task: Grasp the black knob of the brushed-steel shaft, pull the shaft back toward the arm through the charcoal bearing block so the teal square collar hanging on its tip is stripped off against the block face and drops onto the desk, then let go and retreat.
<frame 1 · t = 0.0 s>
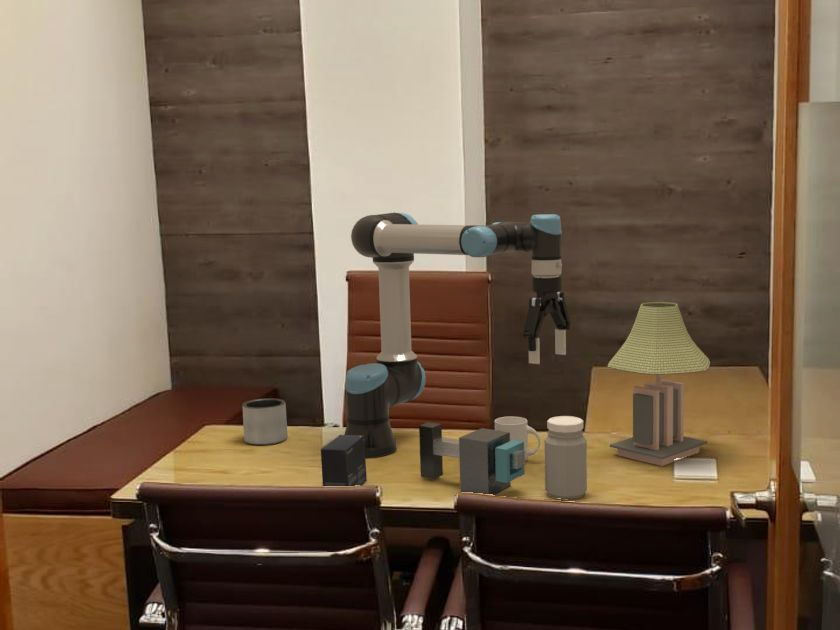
hand: (547, 358, 261), 28 cm above the table, fingers open, 13 cm apart
mug: (517, 461, 271), on the table
collar: (510, 461, 242), point 8 cm above the table, touching shaft
desk lamp: (658, 454, 273), on the table
jar: (565, 495, 242), on the table
shaft: (471, 457, 248), point 7 cm above the table, slide at 0.0 cm, touching collar
small box: (345, 489, 251), on the table
bearing block: (485, 489, 247), on the table
planter: (266, 441, 298), on the table
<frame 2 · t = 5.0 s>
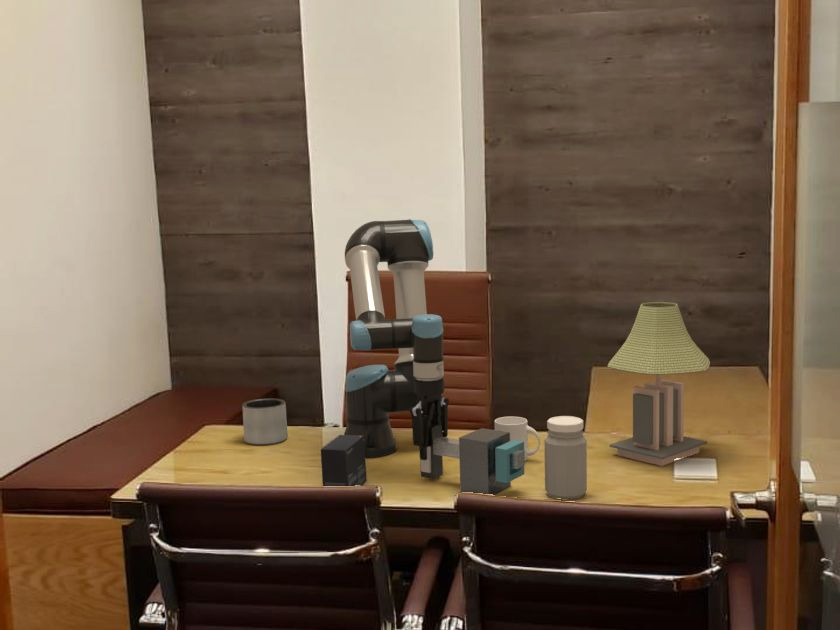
hand: (431, 469, 256), 3 cm above the table, fingers closed on shaft, 4 cm apart
shaft: (471, 457, 248), point 7 cm above the table, slide at 0.0 cm, touching collar, gripper
everything else where it was.
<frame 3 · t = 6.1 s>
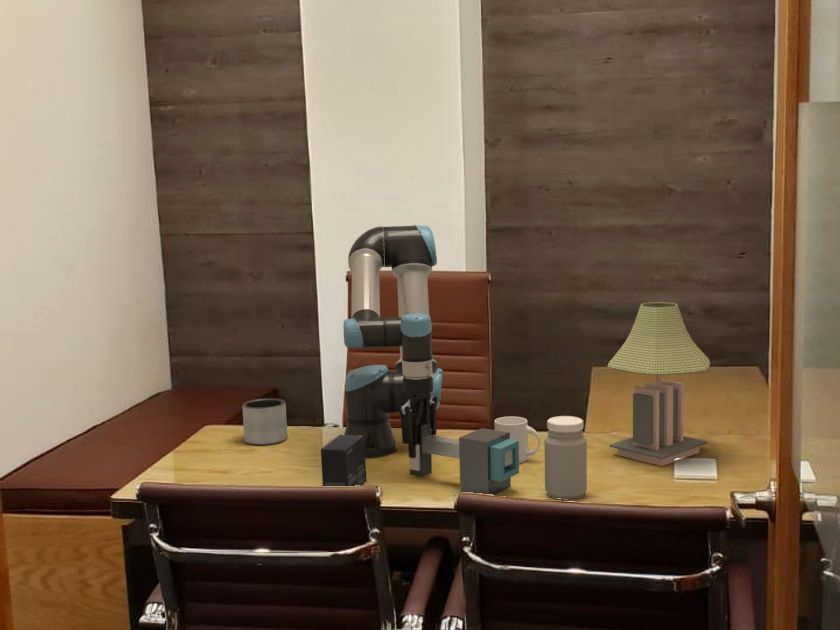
hand: (420, 466, 258), 3 cm above the table, fingers closed on shaft, 4 cm apart
collar: (504, 460, 243), point 8 cm above the table, touching bearing block
shaft: (459, 455, 250), point 7 cm above the table, slide at 3.4 cm, touching gripper
everything else where it was.
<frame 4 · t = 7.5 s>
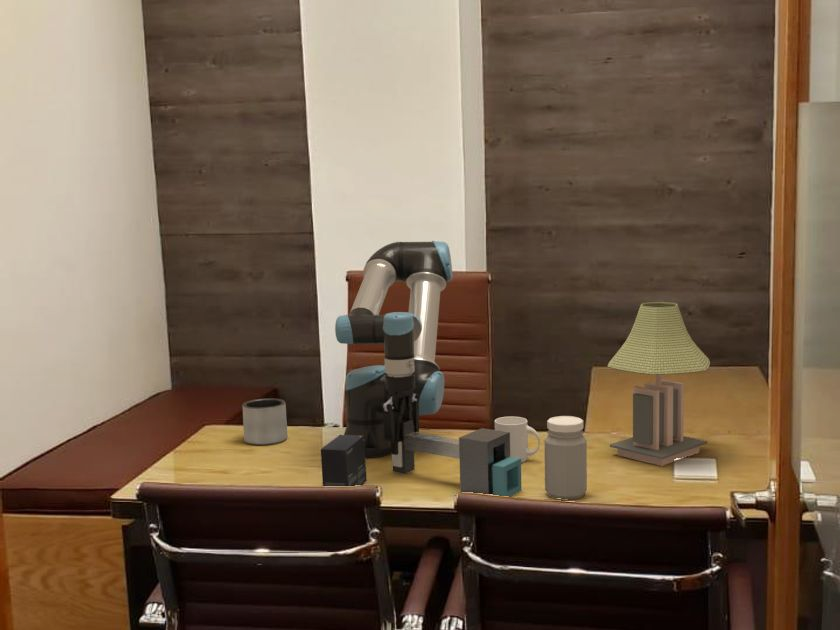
hand: (403, 463, 262), 3 cm above the table, fingers closed on shaft, 4 cm apart
collar: (507, 478, 243), point 4 cm above the table
shaft: (441, 452, 254), point 7 cm above the table, slide at 8.9 cm, touching gripper
everything else where it was.
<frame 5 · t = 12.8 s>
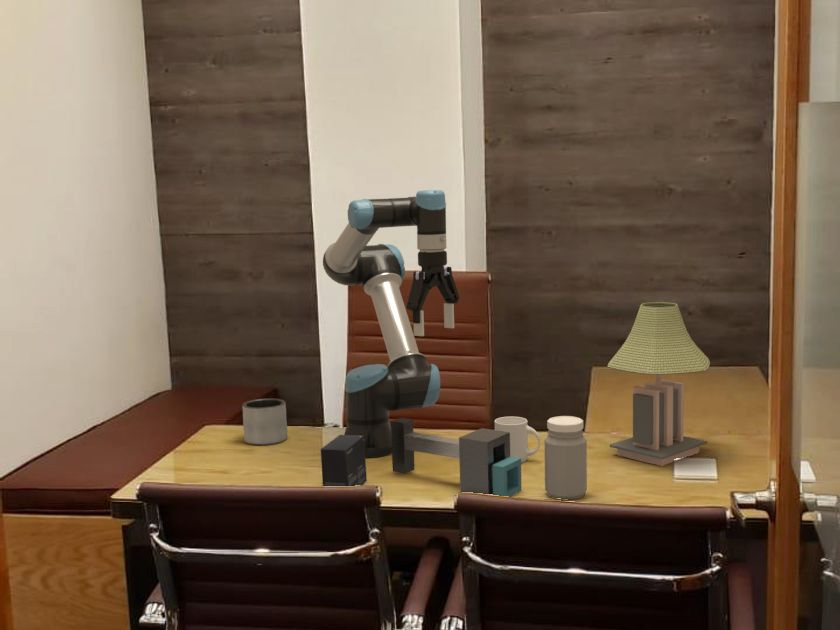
hand: (434, 331, 267), 35 cm above the table, fingers open, 13 cm apart
shaft: (441, 452, 254), point 7 cm above the table, slide at 8.9 cm
everything else where it was.
at the end: shaft slide at 8.9 cm; collar inside the target area (3.4 cm from its centre), point 3.9 cm above the table; collar touching table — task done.
